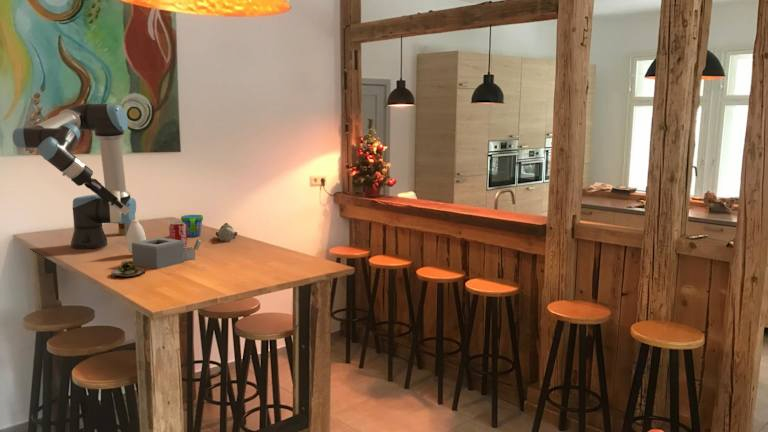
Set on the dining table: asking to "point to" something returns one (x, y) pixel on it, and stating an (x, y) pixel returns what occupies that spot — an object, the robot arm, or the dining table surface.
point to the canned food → (124, 228)
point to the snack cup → (192, 224)
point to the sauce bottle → (134, 234)
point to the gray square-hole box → (157, 252)
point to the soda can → (178, 232)
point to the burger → (127, 270)
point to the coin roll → (115, 209)
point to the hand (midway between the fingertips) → (125, 211)
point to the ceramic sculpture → (226, 233)
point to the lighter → (191, 251)
